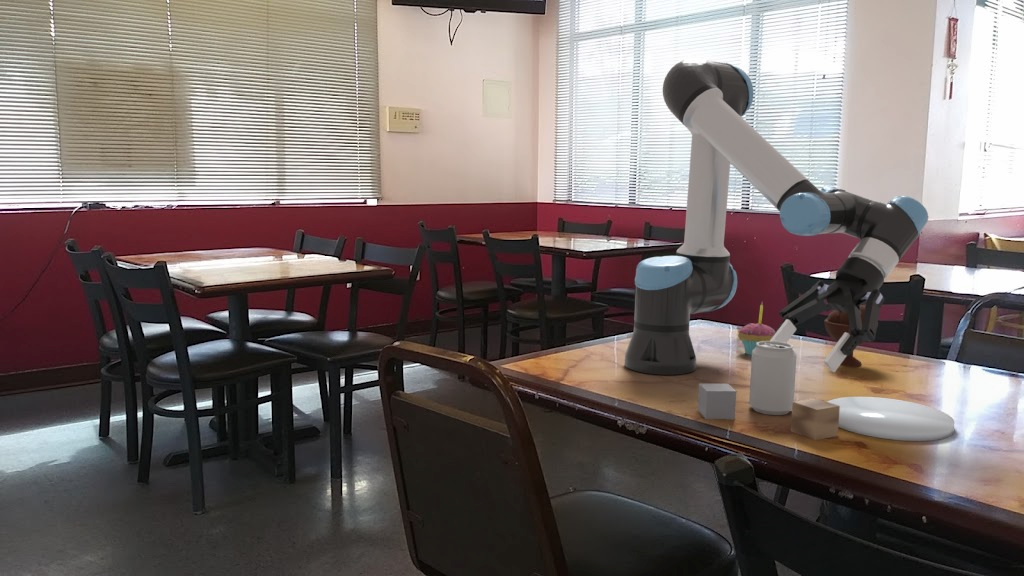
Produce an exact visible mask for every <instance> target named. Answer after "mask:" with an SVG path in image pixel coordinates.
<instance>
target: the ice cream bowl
mask: <svg viewBox="0 0 1024 576" xmlns="http://www.w3.org/2000/svg"><path fill="white" fill-rule="evenodd" d="M865 307H866V302H865V303H863V304H862V305H861V306H860V308H861V322H862V324H863V318H864V312H865ZM823 323H824V329H825V330H826V332H827V334H828V335H829V336H830V338H831V339H833V340H834V341H835V342H836V343H837V342H838V341H839V340H840V338H841V337H842V336H843V334H844V333H845V332H846V333H849V334H850V335H851V333H850V332H849V330H850V326H849V318H848V311H847V312H843V311H841V310H831V312H829V314H828V316H827V318H825V319H824V321H823ZM878 326H879V322H878V323H877V327H878ZM848 329H849V330H848ZM866 342H869V341H868V340H865V341H863V342H861V343H859V344H858V345H857V347H858V346H861V345H863V344H865V343H866ZM840 366H843V367H852V368H853V367H854V368H855V367H861V366H862V362H861V361H860V360H859V359H857V358H856V357H854V351H853V352H852V353H851V354H850V355H849V356H846V357H845V359H844V360H843V362H842V363H841V364H840Z"/></svg>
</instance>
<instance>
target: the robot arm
mask: <svg viewBox="0 0 1024 576" xmlns="http://www.w3.org/2000/svg"><path fill="white" fill-rule="evenodd" d="M662 97H663V101H664V103H665V106H666V107H667V108H668V110H669V111H670V112H671V114H673V116H674V117H676V119H677V120H678V121H679V122H680V123H681V124H682V125H683V126H684V127H685V128H686V129H687V130H688V131H689V132H690V134H691V143H690V145H691V146H690V155H689V156H690V157H689V158H690V159H689V171H688V183H687V184H688V187H687V198H686V199H687V200H686V212H685V213H686V214H685V225H684V226H685V227H684V228H685V229H684V241H683V244H682V245H681V246H680V247H679V248H677V250H676V252H675V253H676V255H663V256H653V257H648V258H645V259H643V260H641V261H640V262H638V264H637V265H636V269H635V277H634V311H633V312H634V318H633V321H634V322H633V332H632V334H631V337H630V339H629V340H630V341H629V343H628V346H627V349H626V351H625V353H624V366H625V367H626V368H627V369H629V370H632V371H635V372H640V373H643V374H649V375H650V374H651V375H668V376H669V375H671V376H673V375H685V374H690V373H693V372H694V371H696V370H697V356H696V353H695V349H694V346H693V342H692V339H691V335H690V321H691V320H690V319H691V315H694V314H700V313H709V312H713V311H715V310H716V311H717V310H718V309H721V308H723V307H725V306H726V305H727V304H728V303H730V301H732V299H733V298H734V296H735V294H736V291H737V288H738V275H737V271H736V270H735V269H734V268H733V267H734V266H733V265H732V264H731V262H730V259H731V254H730V252H729V251H728V249H727V248H726V247H725V243H724V242H725V231H726V221H727V219H726V218H727V207H728V197H729V196H728V195H729V185H730V174H731V173H730V172H731V166H732V167H734V168H735V169H736V170H737V171H738V172H739V173H740V174H741V175H742V177H743V178H744V179H746V181H748V182H749V183H750V184H751V185H752V186H753V188H755V189H756V190H757V191H758V192H759V193H760V194H761V195H762V196H763V197H764V198H765V199H766V200H767V201H768V202H769V203H770V204H771V205H772V206H773V207H774V208H775V209H776V210H778V211H779V219H780V222H781V225H782V226H783V228H784V229H785V230H786V231H787V232H789V233H791V234H793V235H797V236H801V237H802V236H803V237H810V236H811V237H813V236H817V235H823V234H824V235H825V234H827V235H829V234H839V233H840V234H845V235H847V236H850V237H852V238H853V237H854V238H856V239H859V242H858V243H856V246H855V247H854V248H853V249H852V251H851V252H850V253H849V255H848V257H847V258H846V259H845V260H844V261H843V262H842V263H841V265H840V267H839V268H838V269H837V271H836V273H835V279H834V281H833V282H832V283H830V284H826V283H824V281H823V280H818V281H817V282H816V283H815V284H813V286H812V287H811V288H810V289H809V290H807V291H806V292H804V293H803V294H801V295H800V296H799V297H798V298H796V299H795V300H793V301H792V302H790V303H789V304H788V305H786V306H785V307H784V308H782V309H781V310H780V311H779V312H778V315H779V316H780V317H781V319H782V322H781V323H780V324H779V326H777V328H776V330H774V331H775V335H774V336H773V337H772V339H771V340H770V341H778V342H785V343H788V341H789V340H790V339H791V337H792V336H793V335H794V334H795V332H796V331H797V327H796V326H798V325H800V324H801V323H804V322H806V321H808V320H810V319H812V318H814V317H815V316H818V315H820V314H822V313H823V312H826V313H827V312H830V311H834V310H841V311H843V312H847V311H848V318H849V326H850V330H849V329H848V330H849V332H850V333H851V335H850V334H849V333H846V332H845V333H844V334H843V336H842V337H841V338H840V340H839V341H838V342H837V341H836V344H835V345H834V346H833V348H832V349H831V350H830V352H829V353H828V354H827V356H825V358H824V360H823V361H822V363H824V364H825V366H826V367H827V368H828V370H829V371H830V372H832V373H836V371H837V370H838V368H839V367H840V366H841V365H840V364H841V363H842V362H843V360H844V359H845V357H846V356H849V355H850V354H851V353H852V352H853V353H854V350H855V349H856V348H857V347H858V346H859V345H858V344H859V343H861V342H863V341H865V340H868V341H867V342H869V343H871V342H874V341H875V340H876V334H877V329H878V326H877V323H878V324H879V316H880V310H881V307H882V306H883V304H884V302H885V301H886V299H885V298H884V296H883V294H882V293H881V292H880V288H881V287H882V285H883V284H884V282H885V280H886V279H887V278H888V277H889V276H890V274H891V273H892V272H893V270H894V269H895V267H897V264H899V262H900V261H901V259H902V258H903V257H904V256H905V254H906V253H907V251H908V250H909V249H910V247H911V246H912V245H913V243H914V242H915V241H916V240H917V239H918V238H919V236H920V233H922V231H923V229H924V228H925V226H926V224H927V223H928V221H929V212H928V211H927V208H926V207H925V206H924V205H923V203H921V202H920V201H918V200H917V199H915V198H913V197H910V196H907V195H902V196H901V195H896V196H894V197H893V198H891V200H888V202H887V203H884V202H881V201H880V202H879V201H875V200H872V199H869V198H866V197H863V196H860V195H857V194H855V193H853V192H848V191H846V190H845V189H842V188H840V189H839V188H836V187H831V186H824V187H822V188H821V189H819V188H817V186H815V184H814V183H812V182H811V181H810V180H809V178H807V177H806V176H805V175H804V174H803V173H802V172H801V171H800V170H798V168H796V166H794V165H793V163H791V162H790V161H789V160H788V159H787V158H786V157H785V156H784V155H783V154H781V152H779V151H778V150H777V149H776V148H775V147H774V146H773V145H772V144H771V143H770V142H769V141H768V140H766V138H764V136H762V135H761V134H760V133H759V132H758V131H757V130H756V129H755V128H754V127H753V126H751V125H750V124H749V122H747V120H745V119H744V118H743V116H745V115H746V113H747V111H749V110H750V108H751V106H752V103H753V102H754V101H753V100H754V86H753V83H752V80H751V78H750V77H749V75H748V74H747V73H746V72H745V71H744V70H743V69H742V68H740V67H737V66H735V65H732V64H731V63H728V62H719V61H718V62H717V61H712V60H705V59H702V58H687V59H683V60H682V61H679V62H678V63H676V64H675V65H673V66H672V67H671V68H670V70H669V71H668V72H667V73H666V76H665V77H664V80H663V84H662ZM825 300H826V301H825ZM863 303H865V305H866V307H865V312H864V318H863V324H862V322H861V308H860V306H861V305H862V304H863ZM857 345H858V346H857Z"/></svg>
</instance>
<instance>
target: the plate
mask: <svg viewBox="0 0 1024 576" xmlns="http://www.w3.org/2000/svg"><path fill="white" fill-rule="evenodd" d="M826 402H829V403H832V404H835V405H838V406H840V410H839V424H838V428H839V429H840V428H841V429H842V430H846V431H849V432H852V433H855V434H859V435H863V436H868V437H873V438H877V439H878V438H880V439H886V440H894V441H907V442H928V441H939V440H942V439H946V438H949V437H950V436H952V435H953V434H954V431H955V419H954V418H953V417H952V416H951V415H950V414H948V413H946V412H944V411H942V410H939V409H937V408H935V407H931V406H927V405H924V404H921V403H917V402H912V401H907V400H901V399H894V398H887V397H876V396H845V397H844V396H843V397H838V398H833V399H830V400H828V401H826Z"/></svg>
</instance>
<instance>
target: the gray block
mask: <svg viewBox="0 0 1024 576" xmlns="http://www.w3.org/2000/svg"><path fill="white" fill-rule="evenodd" d="M697 395H698V397H697V398H698V399H697V412H698V411H699V412H700V413H701V414H702V415H703V416H704V417H705V418H704V417H703V416H702V415H701V414H700V413H699V412H698V413H699V414H700V415H701V416H702V417H703V418H704V419H705V420H706V419H726V420H735V419H736V407H737V406H736V403H737V402H736V401H737V391H736V389H734V388H733V387H732V386H731V385H729V383H698V394H697Z"/></svg>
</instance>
